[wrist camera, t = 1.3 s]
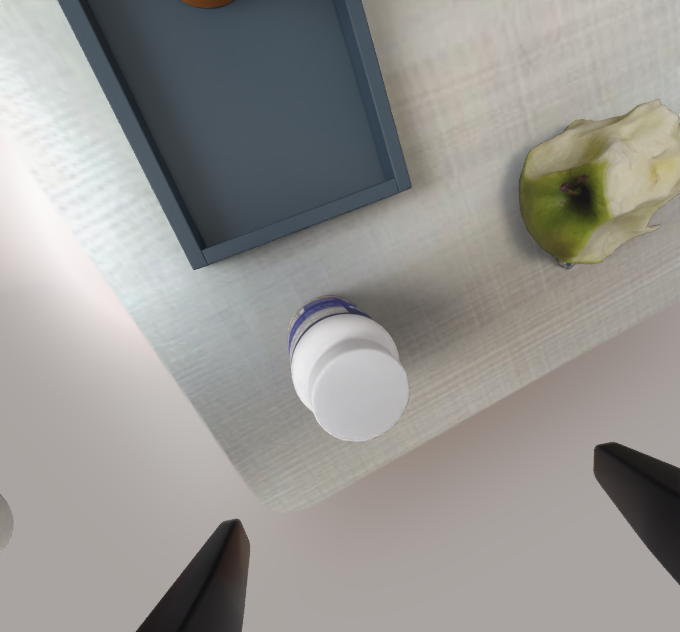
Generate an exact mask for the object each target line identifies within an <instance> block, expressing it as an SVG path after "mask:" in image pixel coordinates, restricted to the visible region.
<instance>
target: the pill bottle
mask: <svg viewBox="0 0 680 632" xmlns="http://www.w3.org/2000/svg"><path fill="white" fill-rule="evenodd" d="M288 347H289V355H290V365H291V375H292V380H293V384H294V387H295V390H296V392H297V394H298V396H299V398H300V399H301V401H302V402H303V403H304V405H305V406H306V407H307V408H308V409H310V410H311V411H312V412H313V413H314V416H315V418H316V420H317V421H318V423H319V424H320V425H321V427H322V428H323V429H324V430H325V431H326V432H328V433H329V434H331V435H332V436H334V437H336V438H338V439H341V440H345V441H353V442H359V441H366V440H370V439H373V438H376V437H378V436H380V435H382V434H384V433H385V432H387V431H388V430H389V429H390V428H392V427H393V426H394V425H395V424H396V423H397V422H398V420H399V419H400V418H401V416H402V415H403V413H404V411H405V409H406V407H407V404H408V400H409V394H410V386H409V380H408V377H407V374H406V372H405V369H404V368H403V366H402V365H401V363H400V362H399V355H398V351H397V348H396V345H395V343H394V341H393V339H392V338H391V336H390V335H389V334H388V332H387V331H386V330H385V329H384V328H383V327H382V326H381V325H380V324H378V323H377V322H376V321H374V320H373V319H372V318H371V317H369V316H368V315H367V314H366V313H364V312H363V311H362V310H361V309H359V308H358V307H357V306H355V305H354V304H353V303H351V302H350V301H348V300H346V299H343V298H340V297H336V296H322V297H318V298H315V299H312V300H310V301H308V302H307V303H305V304H304V305H303V306H301V307H300V308H299V309H298V310H297V312H296V313H295V314H294V316H293V318H292V320H291V322H290V325H289V328H288Z"/></svg>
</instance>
